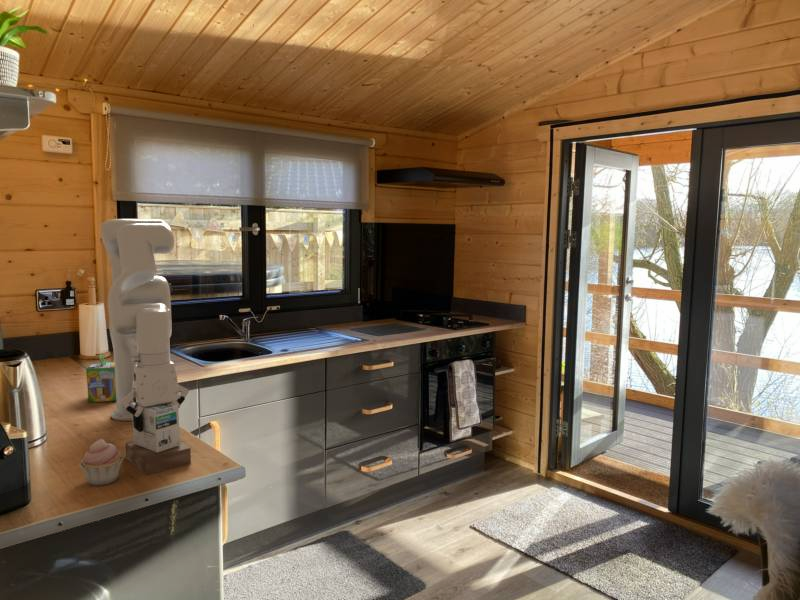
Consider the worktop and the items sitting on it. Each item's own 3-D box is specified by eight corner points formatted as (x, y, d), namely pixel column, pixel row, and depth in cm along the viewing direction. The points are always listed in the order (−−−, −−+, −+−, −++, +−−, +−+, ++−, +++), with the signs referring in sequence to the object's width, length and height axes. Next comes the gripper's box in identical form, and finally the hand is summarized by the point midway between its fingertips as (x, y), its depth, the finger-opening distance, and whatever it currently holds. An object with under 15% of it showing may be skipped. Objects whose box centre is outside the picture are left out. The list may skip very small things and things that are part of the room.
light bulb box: (181, 445, 158) (179, 403, 156) (157, 453, 152) (154, 410, 151) (156, 436, 164) (154, 396, 162) (132, 444, 158) (129, 402, 157)
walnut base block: (125, 457, 160) (125, 442, 159) (168, 447, 167) (168, 432, 167) (146, 475, 150) (145, 459, 149) (190, 463, 157) (190, 448, 156)
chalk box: (117, 401, 206) (115, 357, 204) (87, 403, 204) (85, 358, 202) (123, 393, 215) (121, 351, 213) (94, 395, 213) (92, 352, 211)
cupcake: (131, 472, 151) (130, 432, 150) (112, 489, 142) (110, 447, 140) (93, 471, 151) (91, 431, 150) (72, 488, 142) (69, 445, 141)
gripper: (122, 366, 146) (125, 438, 149) (194, 356, 158) (196, 423, 160) (111, 360, 152) (115, 430, 154) (182, 350, 163) (184, 415, 166)
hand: (156, 426), depth 157 cm, fingers open, 8 cm apart
